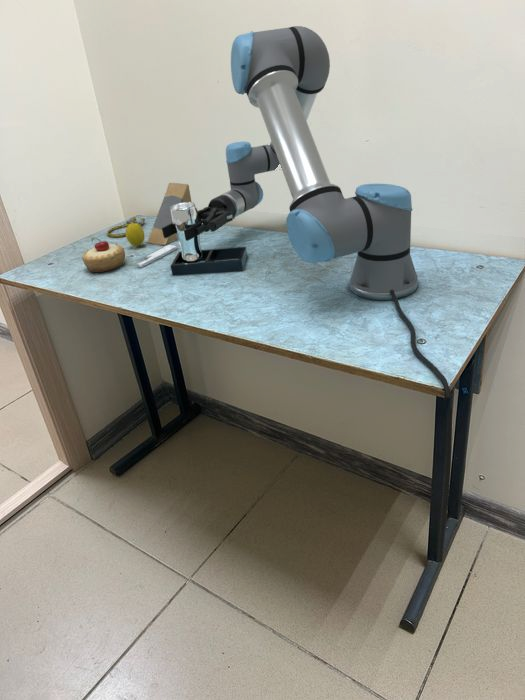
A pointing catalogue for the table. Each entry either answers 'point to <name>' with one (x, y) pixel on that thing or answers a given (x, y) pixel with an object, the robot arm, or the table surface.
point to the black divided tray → (212, 262)
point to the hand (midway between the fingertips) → (174, 234)
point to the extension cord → (125, 226)
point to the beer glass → (183, 219)
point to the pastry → (103, 257)
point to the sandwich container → (168, 212)
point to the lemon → (135, 234)
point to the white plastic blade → (157, 255)
